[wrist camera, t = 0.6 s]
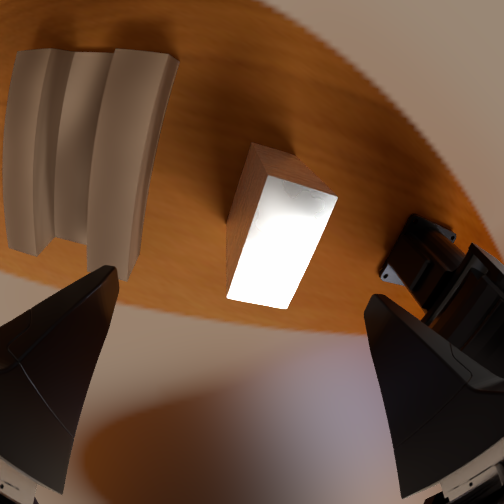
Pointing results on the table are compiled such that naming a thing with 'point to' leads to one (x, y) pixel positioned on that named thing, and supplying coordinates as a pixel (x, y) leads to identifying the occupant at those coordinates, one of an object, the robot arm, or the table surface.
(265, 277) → the brushed metal bar
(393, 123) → the table surface
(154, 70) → the grey u-channel
